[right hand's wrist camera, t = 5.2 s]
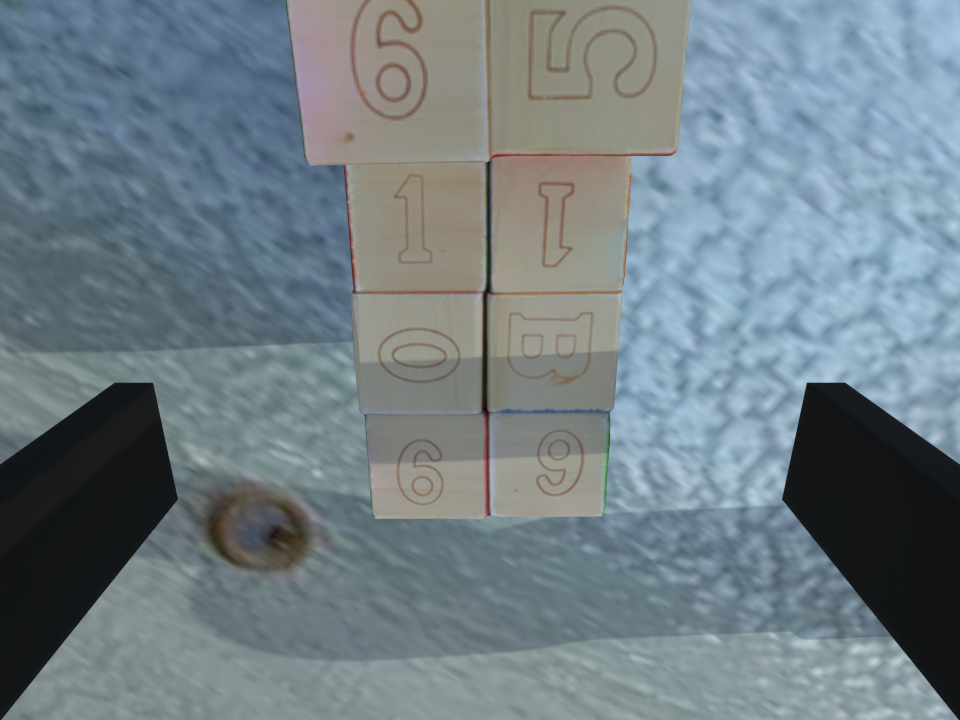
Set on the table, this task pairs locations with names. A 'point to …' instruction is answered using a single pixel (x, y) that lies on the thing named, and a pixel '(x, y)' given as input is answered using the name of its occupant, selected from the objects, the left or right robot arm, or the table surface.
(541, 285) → the stack of blocks
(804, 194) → the table surface
